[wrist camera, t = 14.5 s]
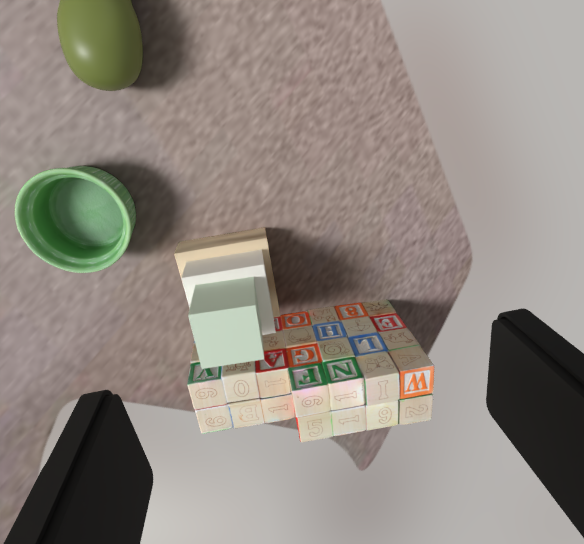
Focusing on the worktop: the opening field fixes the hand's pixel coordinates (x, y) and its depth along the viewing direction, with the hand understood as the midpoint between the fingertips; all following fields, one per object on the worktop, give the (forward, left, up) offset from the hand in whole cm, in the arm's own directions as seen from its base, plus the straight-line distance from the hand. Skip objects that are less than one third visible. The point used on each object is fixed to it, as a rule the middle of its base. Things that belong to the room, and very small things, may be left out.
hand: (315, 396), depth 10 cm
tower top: (+10, -5, -27) cm, 30 cm away
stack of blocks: (+19, +1, -31) cm, 36 cm away
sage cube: (+10, -5, -24) cm, 26 cm away
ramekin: (+1, -16, -31) cm, 35 cm away
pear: (-13, -9, -31) cm, 35 cm away
